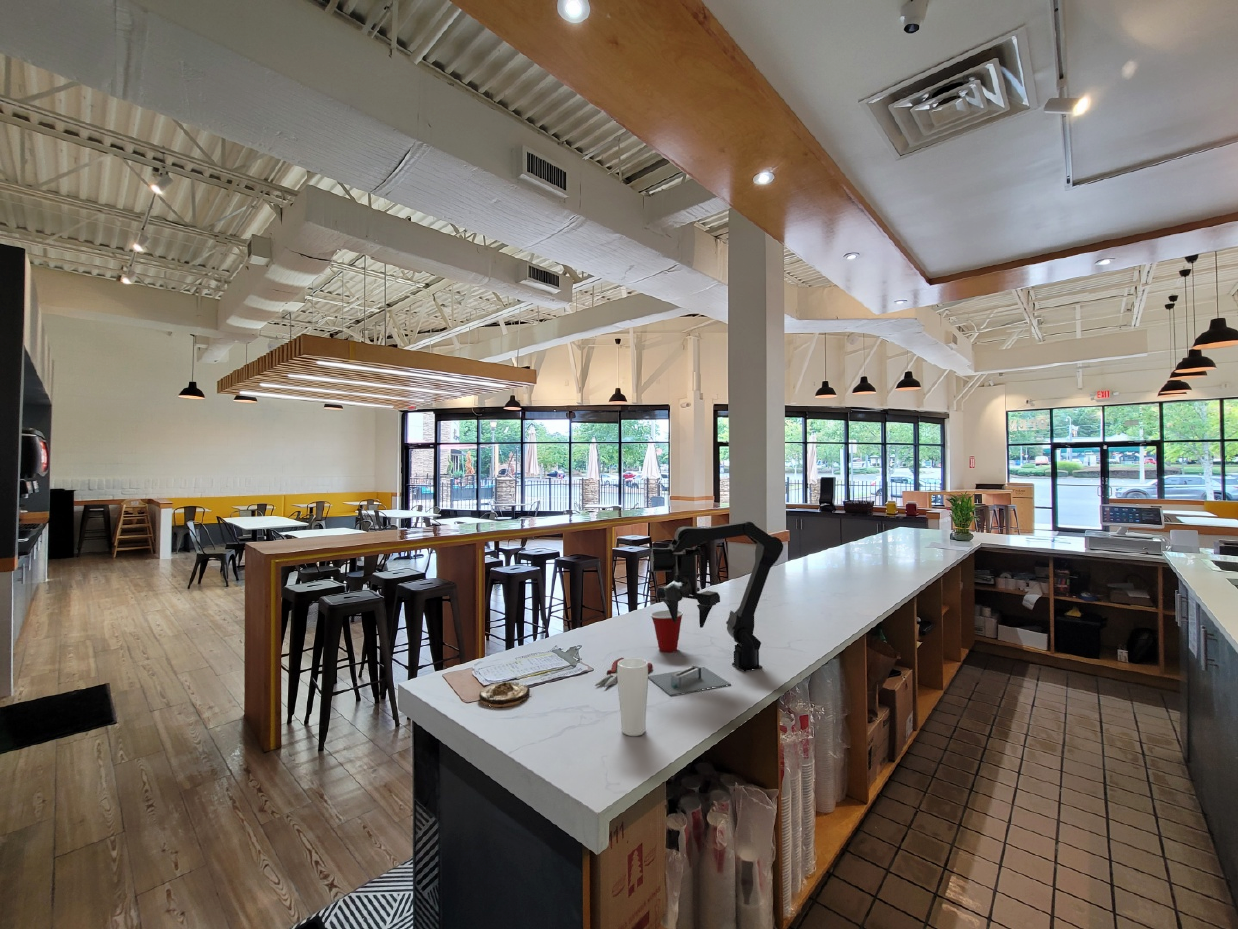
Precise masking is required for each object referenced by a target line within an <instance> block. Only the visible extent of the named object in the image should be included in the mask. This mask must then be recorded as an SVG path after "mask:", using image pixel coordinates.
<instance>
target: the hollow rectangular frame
mask: <svg viewBox="0 0 1238 929" xmlns="http://www.w3.org/2000/svg"><path fill="white" fill-rule="evenodd" d="M679 671H680V672H677V673H675V674H673V675H671V686H672V688H681V687H683V686H685V685H687V684H690V683H692V682H694V681H696V680H698V679H700V678H701V667H699V666H697V665H692V666H689V667H687V668H684V669H682V670H679Z"/></svg>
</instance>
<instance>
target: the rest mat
mask: <svg viewBox="0 0 1238 929" xmlns="http://www.w3.org/2000/svg"><path fill="white" fill-rule="evenodd" d="M700 668H701V678H700V679H698V680H696V681H694V682H692V683H690V684H687V685H685V686H683V687H681V688H672V686H671V675H673V674H675V673H677V672H680V671H681V670H677V671H672V672H664V673H658V674H653V675H648V680H650V681H651V682H652V683H654V685H656V686H657V687H659V689H661V690H662V691H664V692H665V693H666V694H667V696H669V697H672V696H673V695H674V696H678V695H677V694H680V695H683V694H682V693H685V694H690V692H691V693H694V691H696V692H699V691H698V690H702V689H707V688H712V687H719V688H723V687H722V686H724V687H727V686H726V685H730V686H732V684H731V683H730V682H729V681H727V680H726V679H724V678H722V677H721V676H720V675H718V674H716V673H715V672H713V671H711V670H710V669H709V668H706V667H705V666H703V667H700ZM702 691H703V690H702ZM674 696H673V697H674Z"/></svg>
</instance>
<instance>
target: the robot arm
mask: <svg viewBox="0 0 1238 929" xmlns="http://www.w3.org/2000/svg"><path fill="white" fill-rule="evenodd" d="M743 536H746V537H747V538H748V539H749V541H751V542H752V543H753V544H755V550H754V558H755V559H754V565H753V568H752V571H751V573H750V576H749V580H748V582H747V585H746V588H745V590H744V594H743V596H742V599H741V602H740V605H739V607H738V608H737V609H736V610H735V612H734V611H733V610H730V611H729V615H728V618H727V620H726V622H725V623H726V630H727V633H728V634H729V635H730V636H731V638H733V641H734V643H736V644H735V645H734V650H733V662H732V663H731V665H732V666H734V667H735V668H737V669H739V670H741V671H742V670H743V671H742V672H748V671H749V670H750V671H753V670H752V669H756V670H761V669H763V666H762V665H760V648H761V644H762V642H761V641H760V640H759V639H758V638H757V637H756V636H755V635H754V632H755V631H754V629H755V614H756V610H757V608H758V604H759V601H760V598H761V597H762V596H761V595H762V593H763V590H764V588H765V584H766V581H767V579H768V576H769V573H770V570H771V569H772V567H773V566H774V565H775V564H776V562H778V559H779V558H780V556H781V555H782V553H783V550H784V544H783V542H782V540H781V539H780V538H778V537H776V536H773V535H771V534H768V533H767V532H765V531H764V530H762V529H761V528H760V527H758V526H757V525H756V524H755V523H754V522H752V521H749V520H743V521H740V522H734V523H727V524H721V525H714V526H709V527H707V526H706V527H705V526H704V527H700V526H699V527H698V526H681V527H678V528H677V529H676V531H675V533H674V538H673V540H672V541H671V542H670V544H669V545H668V547H667V548H666V547H665V548H664V547H661V548H659V547H652V548H651V553H650V557H649V558H650V560H649V562H650V571H651V572H652V573H655V572H656V573H657V572H660V573H661V572H672V571H673V570H674V568H676V574H674V575H673V581H672V582H670V583H669V584H667V585H662V586H659V587H658V588H657V589H656V591H655V592H656V593H655V594H656V598H659V600H660V601H661V602H662V603H664V604H665V605H666V607H667V610H669V612H670V614H671V617H672V620H673V622H674V623H675V622H677V615H678V610H679V602H680V601H682V600H683V598H684V599H691V600H696V601H697V603H698V604H697V605H696V607H697V608H698V610H699V611H698V613H699V615H698V616H699V628H704V626H705V623H706V621H707V618H708V615H709V614H710V611H711V610H712V608H713V606H716V605H717V604H718V603H720V602H721V595H720V594H719V592H718V591H711V590H706V591H703V592H702V591H701V592H700V589H701V588H700V587H698V578H700V573H698V570H697V556H703V555H704V552H702V551H701V550H700V548H699V547H698V546H700V545H702V544H705V543H707V542H710V541H716V540H722V539H730V538H731V539H732V538H737V537H743Z"/></svg>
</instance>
